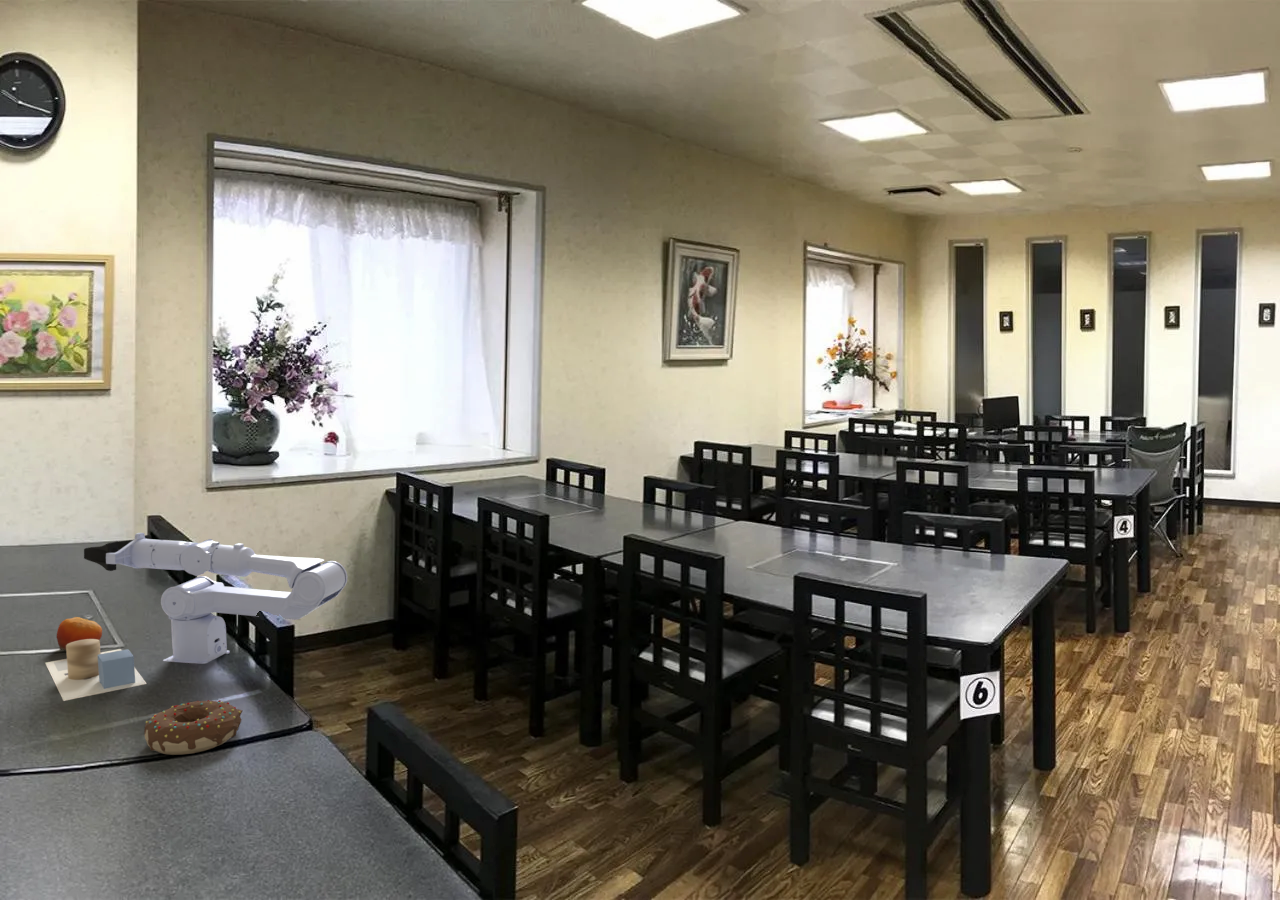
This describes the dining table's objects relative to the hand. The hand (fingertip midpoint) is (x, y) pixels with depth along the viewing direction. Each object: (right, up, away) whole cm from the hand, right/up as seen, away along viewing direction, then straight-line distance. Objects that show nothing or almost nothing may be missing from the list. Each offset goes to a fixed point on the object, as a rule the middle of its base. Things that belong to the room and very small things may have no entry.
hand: (99, 550), depth 184 cm
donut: (+38, -26, -39) cm, 60 cm away
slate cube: (+12, -22, -15) cm, 30 cm away
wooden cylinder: (+4, -22, -12) cm, 25 cm away
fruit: (-6, -21, +4) cm, 23 cm away
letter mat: (+5, -23, -11) cm, 25 cm away
